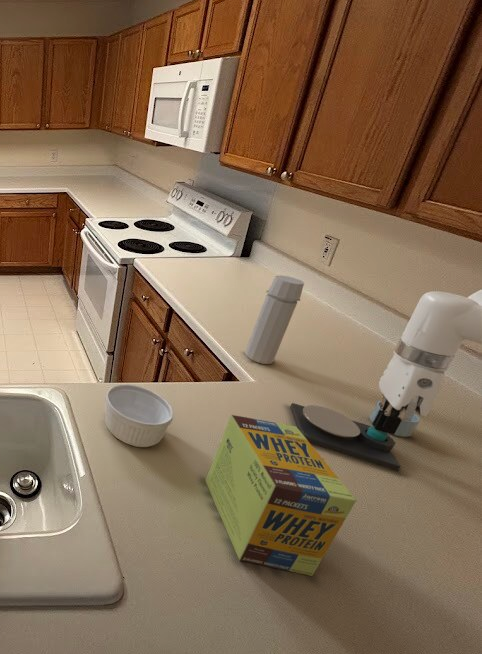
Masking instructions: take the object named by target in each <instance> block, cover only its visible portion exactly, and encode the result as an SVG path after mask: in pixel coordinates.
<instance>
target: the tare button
mask: <svg viewBox="0 0 482 654" xmlns="http://www.w3.org/2000/svg"><path fill="white" fill-rule="evenodd" d="M369 426H370V427H369V429H368V431H367V434H368V435H369V436H370V437H372V438H374V439H376V440H379V441H382V442H384V441H385V440H386V438H387V436H388V435H389V433H386V432H382V431H379V430H376V429H375V428H374V426H373V425H369Z"/></svg>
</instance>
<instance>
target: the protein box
mask: <svg viewBox="0 0 482 654" xmlns="http://www.w3.org/2000/svg"><path fill="white" fill-rule="evenodd" d="M204 481H205V484H206V487H207V489H208V491H209V493H210V496H211V498H212V500H213V502H214V505H215V508H216V509H217V512H218V514H219V517H220V518H221V521H222V523H223V526H224V528H225V530H226V533H227V535H228V537H229V540H230V542H231V545H232V547H233V549H234V551H235V554H236V556H237V558H238V561H241V562H246V563H251V564H254V565H255V564H256V565H260V566H265V567H268V568H273V569H278V570H282V571H288V572H293V573H297V574H302V575H306V576H310V577H312V576H314V574H315V572H316V571H317V569H318V567H319V565H320V563H321V562H322V560H323V558H324V557H325V555H326V553H327V551H328V550H329V548H330V546H331V545H332V543H333V541H334V539H335V538H336V536H337V534H338V533H339V531H340V529H341V527H342V526H343V524H344V523H345V521H346V519H347V517H348V516H349V514H350V512H351V510H352V509H353V507H354V506H355V504H356V503H357V498H356V497H355V496H354V495H353V494H352V493H351V491H350V490H349V489H348V487H347V486H346V485H345V484H344V483H343V482H342V480H340V478H339V477H338V476H337V475H336V473H335V472H334V471H333V470H332V468H331V467H330V465H328V463H327V462H326V461H325V460H324V458H323V457H322V456H321V454H320V453H319V452H318V451H317V450H316V449H315V448H314V446H313V444H311V443H309V442H308V440H307V439H306V438H305V437H304V435H303V434H302V433H301V432H300V431H299V429H298V428H297V426H296V425H290V424H286V423H280V422H274V421H269V420H264V419H263V420H262V419H257V418H251V417H245V416H241V415H235V414H231V415H230V417H229V419H228V422H227V425H226V427H225V429H224V432H223V434H222V437H221V440H220V442H219V445H218V447H217V450H216V452H215V455H214V458H213V459H212V463H211V465H210V467H209V469H208V472H207V475H206V477H205V480H204Z"/></svg>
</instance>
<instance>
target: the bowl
mask: <svg viewBox="0 0 482 654" xmlns="http://www.w3.org/2000/svg"><path fill="white" fill-rule="evenodd" d="M381 402H382V400H379V401H377V402H376V404H375V406H374V407H373V409H372V411H371V412H370V414H369V417H368V419H369V420H370V422H371V423H373V421H374V419H375V417H376V415H377V413H378V411H379V410H381V409H380V405H381ZM401 411H402V410H401ZM420 422H421V418H420V416H419V415H418V414H416V413H415V412H414V415H413V418H412V420H411V421H406V420H402V421H401V423H400V425H399V427H398V428H397V430H396V432H395V434H391V435H393V436H396V437H403V438H404V437H406V438H407V437H411V436H412V435H413V433H414V432H415V430H416V428H417V427H418V425H419V423H420Z"/></svg>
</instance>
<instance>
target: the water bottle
mask: <svg viewBox="0 0 482 654" xmlns="http://www.w3.org/2000/svg"><path fill="white" fill-rule="evenodd" d="M304 286H305V282H304V281H303V280H301V279H299V278H296V277H292V276H289V275H288V276H287V275H279V274H278V275H275V276H274V278H273V281H272V282H271V284H270V287H269V288H268V290H265V293H266V295H265V298H264V300H263V303H262V306H261V309H260V312H259V314H258V317H257V320H256V322H255V325H254V327H253V330H252V333H251V335H250V338H249V341H248V343H247V346H246V349H245V351H244V353H245V356H246V358H248V359H249V360H250V361H252V362H255V363H257V364H262V365H270V364H273V363H274V361H275V357H276V356H277V353H278V351H279V349H280V346H281V344H282V342H283V338H284V336H285V334H286V331H287V329H288V327H289V324H290V321H291V319H292V317H293V315H294V312H295V310H296V307H297V305H298V302H300V301H301V297H302V292H303V289H304Z"/></svg>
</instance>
